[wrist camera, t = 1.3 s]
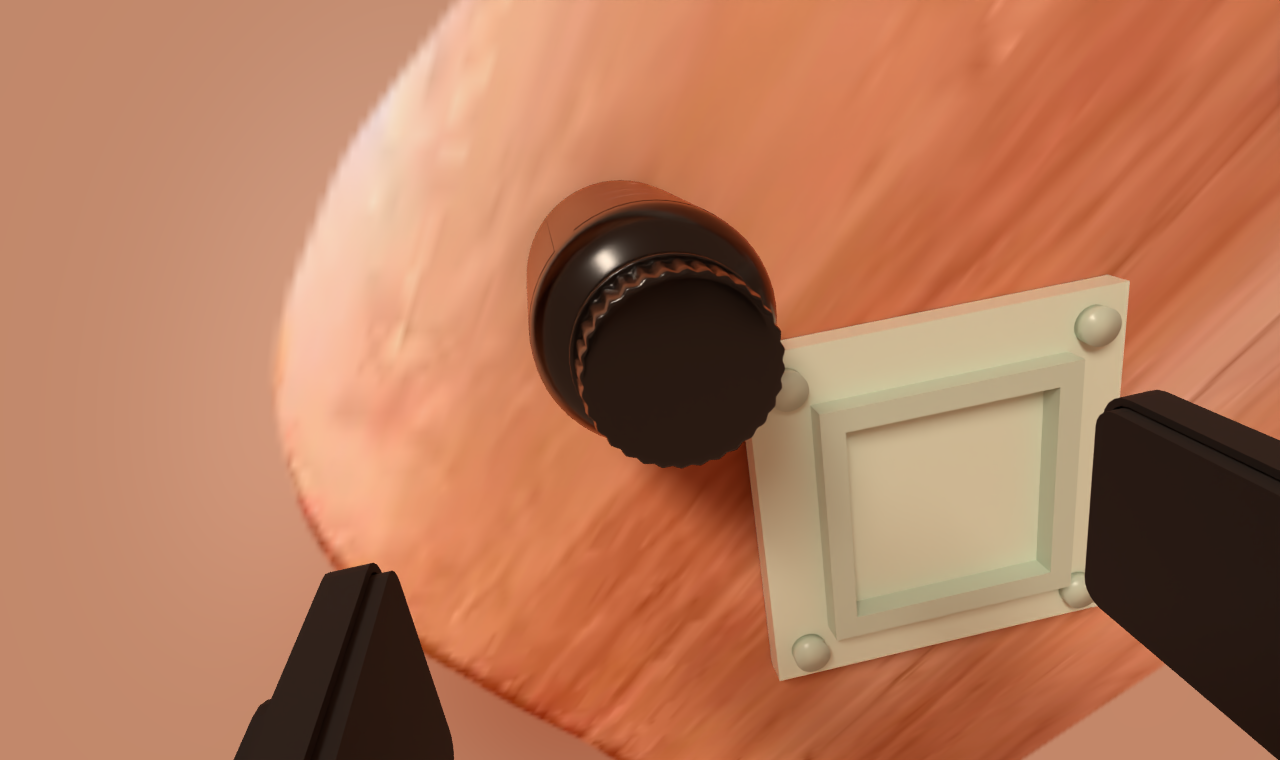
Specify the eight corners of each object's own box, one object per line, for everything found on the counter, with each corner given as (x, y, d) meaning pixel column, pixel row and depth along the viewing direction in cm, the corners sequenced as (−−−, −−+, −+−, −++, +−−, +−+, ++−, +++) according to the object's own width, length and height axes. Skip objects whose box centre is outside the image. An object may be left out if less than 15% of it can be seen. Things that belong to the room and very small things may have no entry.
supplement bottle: (681, 372, 29) (775, 533, 18) (510, 337, 28) (497, 489, 17) (730, 201, 27) (871, 263, 16) (549, 154, 26) (564, 186, 15)
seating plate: (1107, 274, 30) (1149, 286, 28) (1084, 589, 36) (1117, 618, 34) (734, 349, 29) (749, 367, 27) (771, 662, 35) (786, 697, 33)
